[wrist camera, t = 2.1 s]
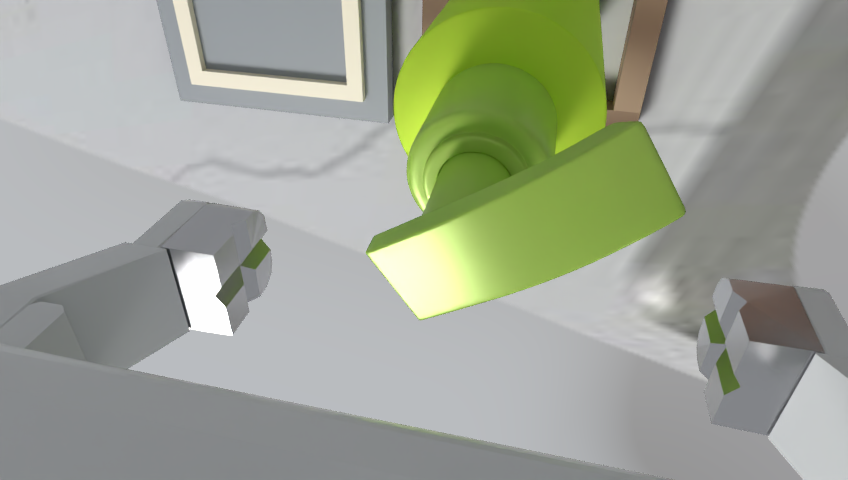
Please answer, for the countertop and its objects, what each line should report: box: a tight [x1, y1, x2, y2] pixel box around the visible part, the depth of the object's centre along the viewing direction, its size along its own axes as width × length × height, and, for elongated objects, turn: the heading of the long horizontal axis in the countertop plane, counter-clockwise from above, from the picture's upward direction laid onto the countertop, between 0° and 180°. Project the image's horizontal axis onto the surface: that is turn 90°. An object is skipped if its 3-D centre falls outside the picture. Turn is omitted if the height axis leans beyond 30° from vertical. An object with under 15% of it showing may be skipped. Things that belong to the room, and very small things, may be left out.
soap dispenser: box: [366, 0, 686, 320], centre depth 18 cm, size 6×7×20 cm
